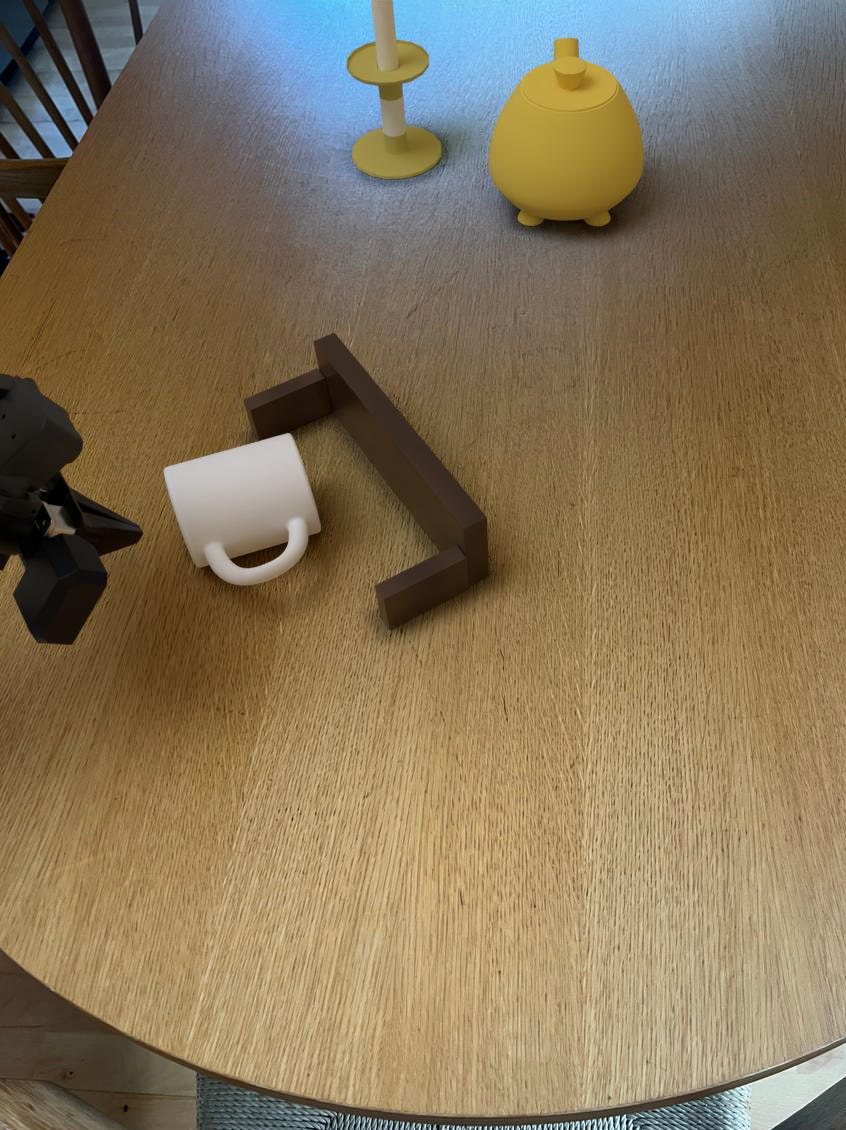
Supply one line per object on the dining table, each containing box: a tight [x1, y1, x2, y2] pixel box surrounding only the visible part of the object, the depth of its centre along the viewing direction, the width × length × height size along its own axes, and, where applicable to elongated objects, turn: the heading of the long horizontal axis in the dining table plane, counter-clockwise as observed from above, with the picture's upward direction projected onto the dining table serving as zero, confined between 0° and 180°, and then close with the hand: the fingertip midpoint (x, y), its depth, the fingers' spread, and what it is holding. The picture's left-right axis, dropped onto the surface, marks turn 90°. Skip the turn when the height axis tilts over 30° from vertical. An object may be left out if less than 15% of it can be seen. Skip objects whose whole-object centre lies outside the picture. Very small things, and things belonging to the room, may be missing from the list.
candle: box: [346, 0, 443, 180], centre depth 100 cm, size 10×10×27 cm
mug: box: [163, 432, 322, 586], centre depth 77 cm, size 12×10×8 cm
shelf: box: [242, 332, 490, 631], centre depth 80 cm, size 9×24×7 cm, turn 32°
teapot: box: [488, 37, 645, 227], centre depth 101 cm, size 20×16×14 cm
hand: (139, 534), depth 73 cm, fingers closed
